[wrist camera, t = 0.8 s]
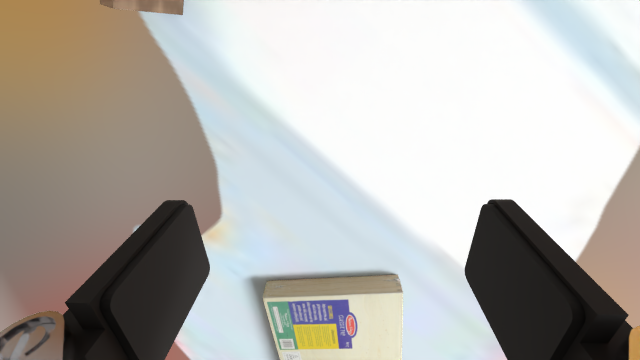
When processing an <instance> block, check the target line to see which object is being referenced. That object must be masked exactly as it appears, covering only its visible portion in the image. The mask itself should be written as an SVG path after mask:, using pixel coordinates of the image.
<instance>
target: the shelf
mask: <svg viewBox="0 0 640 360" xmlns="http://www.w3.org/2000/svg"><path fill="white" fill-rule="evenodd" d="M183 2H184V0H100V4H101V5H104V6H107V7H110V8H114V9H125V10H135V11H146V12H157V13H168V14H178V15H183Z"/></svg>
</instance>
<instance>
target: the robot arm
mask: <svg viewBox="0 0 640 360" xmlns="http://www.w3.org/2000/svg"><path fill="white" fill-rule="evenodd" d="M209 271H210V265H209V261H208V257H207V254H206V251H205V247H204V244H203V241H202V237H201V234H200V231H199V227H198V224H197V220H196V217H195V214H194V210H193V207H192V206H191V205H188V203H187V202H186V201H184V200H167V201H165V202H163V203H162V205H161V206H159V207H158V209H157V210H156V211H155V212H154V213H153V214H152V215H151V216H150V217H149V218H148V219H147V220H146V221H145V222H144V223H143V224H142V225H141V226H140V227H139V228H138V229H137V230H136V231H135V232H134V233H133V234H132V235H131V236H130V237H129V238H128V239H127V240H126V241H125V242H124V243H123V244H122V245H121V246H120V247H119V248H118V249H117V250H116V251H115V252H114V253H113V254H112V255H111V256H110V257H109V258H108V259H107V261H106V262H104V263H103V264H102V265H101V266H100V268H98V270H97V271H96V272H95V273H94V274H93V275H92V276H91V277H90V278H89V279H88V280H87V281H86V282H85V283H84V284H83V285H82V286H81V287H80V288H79V289H78V290H77V291H76V292H75V293H74V294H73V295H72V296H71V297H70V298H69V299H68V300H67V301H66V302H65V303H66V305H67V307H68V308H69V309H68V311H66V312H65V314H64V315H62V314H61V313H59V312H56V311H45V312H39V313H36V314H33V315H30V316H27V317H25V318H23V319H21V320H19V321H17V322H15V323H13V324H12V325H10V326H9V327H7V328H6V329H4V330H3V331H1V332H0V360H165V358H166V356H167V354H168V352H169V350H170V348H171V346H172V344H173V342H174V340H175V338H176V337H177V335H178V333H179V331H180V329H181V327H182V325H183V323H184V321H185V319H186V317H187V315H188V313H189V311H190V310H191V308H192V306H193V304H194V302H195V300H196V298H197V296H198V294H199V292H200V290H201V288H202V286H203V284H204V282H205V281H206V279H207V277H208V274H209ZM465 276H466V279H467V281H468V283H469V285H470V287H471V289H472V291H473V293H474V295H475V297H476V299H477V301H478V303H479V305H480V307H481V309H482V311H483V312H484V314H485V316H486V318H487V320H488V322H489V324H490V326H491V328H492V330H493V332H494V334H495V336H496V338H497V340H498V342H499V344H500V346H501V348H502V350H503V352H504V354H505V356H506V358H507V360H640V326H637V327H635V328H632V327H631V326H630V325H629V324H628V323H627V322H626V321H625V319H626V318H627V317H628V314H627V313H626V312H625V311H624V310H623V309H622V308H621V307H620V306H619V305H618V304H617V303H616V302H615V301H614V300H613V299H612V298H611V297H610V296H609V295H608V294H607V293H606V292H605V291H604V290H603V289H602V288H601V287H600V286H599V285H598V284H597V283H596V282H595V281H594V280H593V279H592V278H591V277H590V276H589V275H588V274H587V273H586V272H585V271H584V270H583V269H582V268H581V267H580V266H579V265H578V264H577V263H576V262H575V261H574V260H573V259H572V258H571V257H570V256H569V255H568V254H567V253H566V252H565V251H564V250H563V249H562V248H561V247H560V246H559V245H558V244H557V243H556V242H555V241H554V240H553V239H552V238H551V237H550V236H549V235H548V234H547V233H546V232H545V231H544V230H543V229H542V228H541V227H540V226H539V225H538V224H537V223H536V222H535V221H534V220H533V219H532V218H531V217H530V216H529V215H528V214H527V213H526V212H525V211H523V210H522V209H521V208H520V207H519V206H518V205H517V204H516V203H515V202H514V201H513V200H489V202H488V203H487V204H484V205H483V206H482V208H481V211H480V215H479V219H478V222H477V226H476V229H475V233H474V237H473V240H472V244H471V248H470V251H469V255H468V259H467V262H466V266H465Z"/></svg>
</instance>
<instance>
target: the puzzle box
mask: <svg viewBox="0 0 640 360" xmlns="http://www.w3.org/2000/svg"><path fill="white" fill-rule="evenodd" d="M263 302H264V305H265V308H266V312H267V316H268V319H269V323H270V327H271V330H272V334H273V337H274V341H275V344H276V348H277V351H278V354H279V358H280V360H402V326H403V291H402V287H401V284H400V279H399V277H398V275H379V276H358V277H337V278H315V279H293V280H272V281H267V283H266V286H265V290H264V293H263Z"/></svg>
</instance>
